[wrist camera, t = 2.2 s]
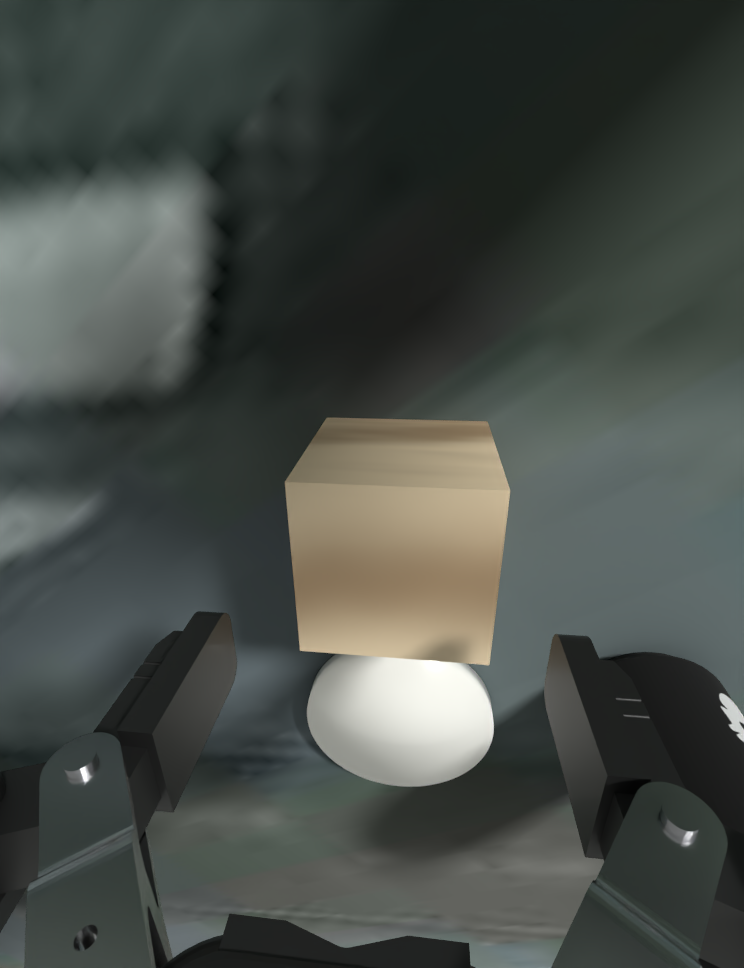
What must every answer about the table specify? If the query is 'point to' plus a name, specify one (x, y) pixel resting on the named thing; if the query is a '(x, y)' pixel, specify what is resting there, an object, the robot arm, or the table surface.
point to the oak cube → (398, 539)
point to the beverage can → (695, 730)
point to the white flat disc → (400, 718)
